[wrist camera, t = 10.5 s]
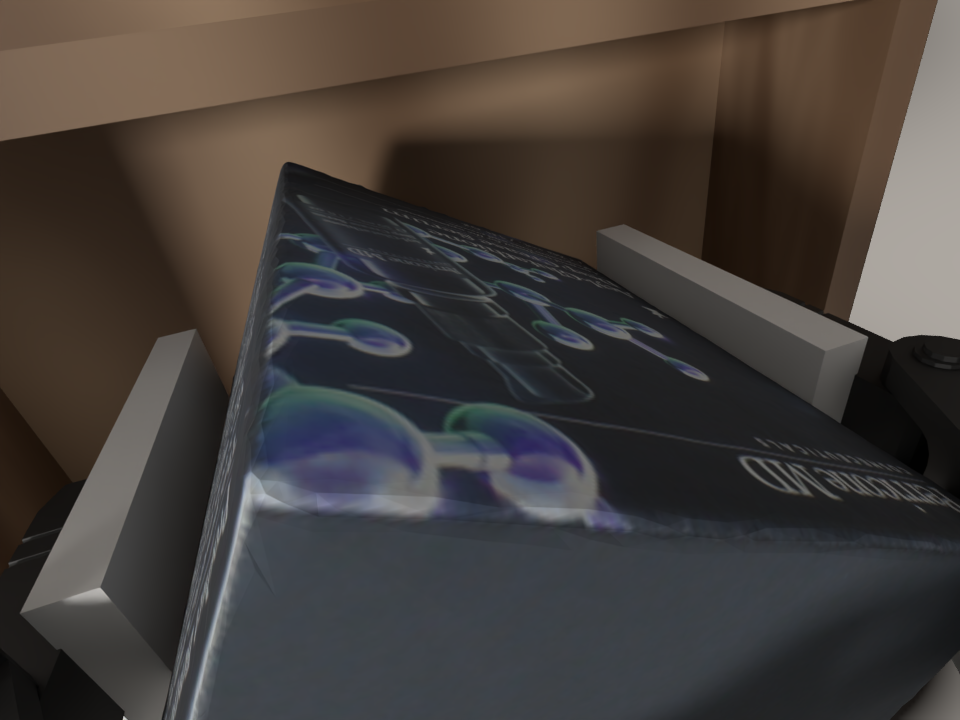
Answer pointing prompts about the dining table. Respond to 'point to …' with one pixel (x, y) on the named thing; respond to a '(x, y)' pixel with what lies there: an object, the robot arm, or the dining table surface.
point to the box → (535, 502)
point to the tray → (405, 160)
